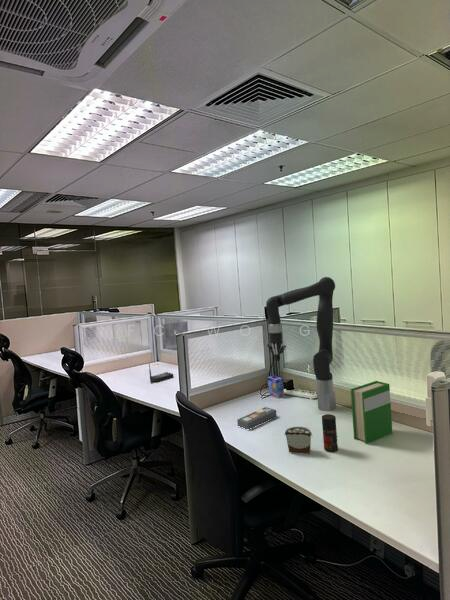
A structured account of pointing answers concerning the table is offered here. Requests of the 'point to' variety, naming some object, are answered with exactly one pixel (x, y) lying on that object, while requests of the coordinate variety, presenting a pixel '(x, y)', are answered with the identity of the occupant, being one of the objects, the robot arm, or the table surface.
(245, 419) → the key sage
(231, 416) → the table surface
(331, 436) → the deodorant
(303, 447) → the food container
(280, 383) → the ink cartridge box
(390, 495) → the table surface
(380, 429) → the hardback book
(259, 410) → the key sand
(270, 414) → the keyguard
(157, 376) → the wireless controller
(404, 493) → the table surface
